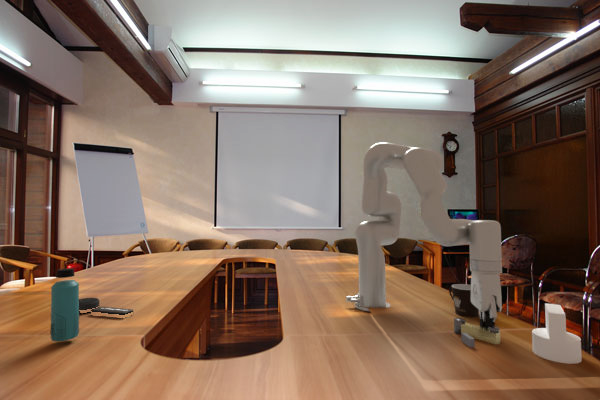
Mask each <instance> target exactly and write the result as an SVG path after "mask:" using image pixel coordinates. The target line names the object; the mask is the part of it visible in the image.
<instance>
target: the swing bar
mask: <svg viewBox="0 0 600 400" xmlns="http://www.w3.org/2000/svg"><path fill="white" fill-rule="evenodd" d="M453 330H454V334H458V335H461V333H467V334H468V335H470V336H471V337H472V338H474V340H479V341H482V342H486V343H489V344H492V345H495V346H496V345H500V344H501V331H500V327H499V326H497V325H495V326H488V328H485V327H481V326H480V325H477V324H473V323H469V322H466V319H465V318H462V317H454V318H453Z"/></svg>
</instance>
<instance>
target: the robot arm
mask: <svg viewBox="0 0 600 400" xmlns="http://www.w3.org/2000/svg"><path fill="white" fill-rule="evenodd" d="M443 166H444V160H443V157H442V155H441V154H440V153H439V152H438V151H436V150H435V149H434V150H433V149H428V148H423V147H414V146H408V145H403V144H398V143H397V144H396V143H392V142H384V141H383V142H376V143H375V144H373V145H371V146H370V147H369V148H368V149H367V150H366V152H365V154H364V157H363V165H362V167H363V184H362V194H361V195H362V196H361V210H362V213H363V214H364V215H365V216H367V217H371V218H372V217H373V218H374V217H375V218H378V219H376V220H375V219H372V220H365V221H362V222H360V223H359V224H358V225H357V226H356V228H355V233H354V235H355V241H356V246H357V255H358V258H357V259H358V260H357V261H358V292H357V293H356V294H354V295H353V296H351V295H346V296H345V300H346V302H347V303H349V302H350V303H354V307H355V308H356V309H358V310H360V311H362V312H363V311H364V312H369V313H370V308H373V309H374V308H391V303H389V302H387V298H386V297H387V295H386V289H387V287H386V258H385V253H384V250H383V249H382V246H390V245H392V244H395V242H396V241H397V240H398V238H399V236H400V227H401V218H402V216H401V215H402V202H401V199H400V197H399V196H398V195H397V194H396V193H394V192H392V191H388V176H387V172H386V170H385V169H386V168H391V169H398V170H404V171H406V173H407V175H408V176H409V178H410V180H411V182H412V183H413V186H414V187H415V189H416V191H417V193H418V195H419V197H420V203H419V204H420V215H421V219H422V221H423V223H424V225H425V227H426V229H427V231H428V233H429V234H430V236H431V237H432V239H433V240H434V242H436V243H437V244H439V245H441V246H443V247H453V246H454V247H455V246H464V245H469V246H468V247H469V270H470V272H471V277H470V285H471V303H472V304H473V305H474V306H475V307H476V308H478V309H479V314H478V317H479V326H481V327H485V328H488V326H496V319H497V318H498V314H497V313H500V312H501V311H502V309H503V308H502V307H503V301H502V300H503V299H502V297H503V296H502V286H501V277H500V274H503V264H502V263H503V261H502V258H503V257H502V255H503V253H502V227H501V223H500V222H499V221H497V220H492V219H491V220H490V219H488V220H487V219H484V220H483V219H478V220H476V219H474V220H473V219H466V218H451V217H450V216H449V214H448V212H447V211H446V209H445V207H444V205H443V201H442V195H443V193H445V192H446V190H447V189H448V184H447V181H446V180H445V178H444V176H443V175H442V174H441V170H442V168H443Z"/></svg>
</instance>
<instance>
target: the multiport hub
mask: <svg viewBox="0 0 600 400" xmlns="http://www.w3.org/2000/svg"><path fill="white" fill-rule="evenodd" d="M91 311H92V312H101V313H108V314H119V315H125V314H128V313H131V312H133V313H134V309H130V308H123V307H122V308H119V307H110V306H99V307H98V308H95V309H92V310H91Z"/></svg>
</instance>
